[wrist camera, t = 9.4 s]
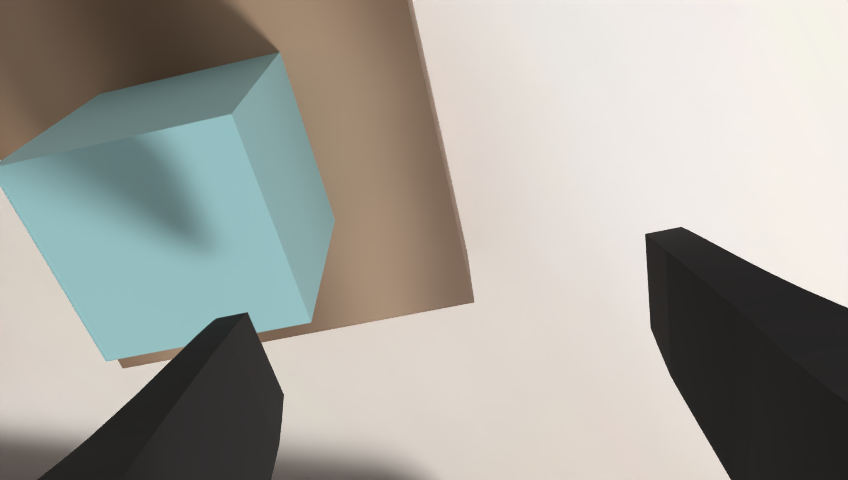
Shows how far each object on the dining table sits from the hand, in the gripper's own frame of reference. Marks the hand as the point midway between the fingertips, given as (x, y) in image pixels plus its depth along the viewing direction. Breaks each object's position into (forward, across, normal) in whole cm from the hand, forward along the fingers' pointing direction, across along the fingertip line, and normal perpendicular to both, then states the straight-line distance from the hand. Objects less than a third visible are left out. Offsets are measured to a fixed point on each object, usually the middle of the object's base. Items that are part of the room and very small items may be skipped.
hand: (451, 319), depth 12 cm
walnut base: (+10, +6, -1) cm, 12 cm away
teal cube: (+7, +6, -1) cm, 10 cm away
